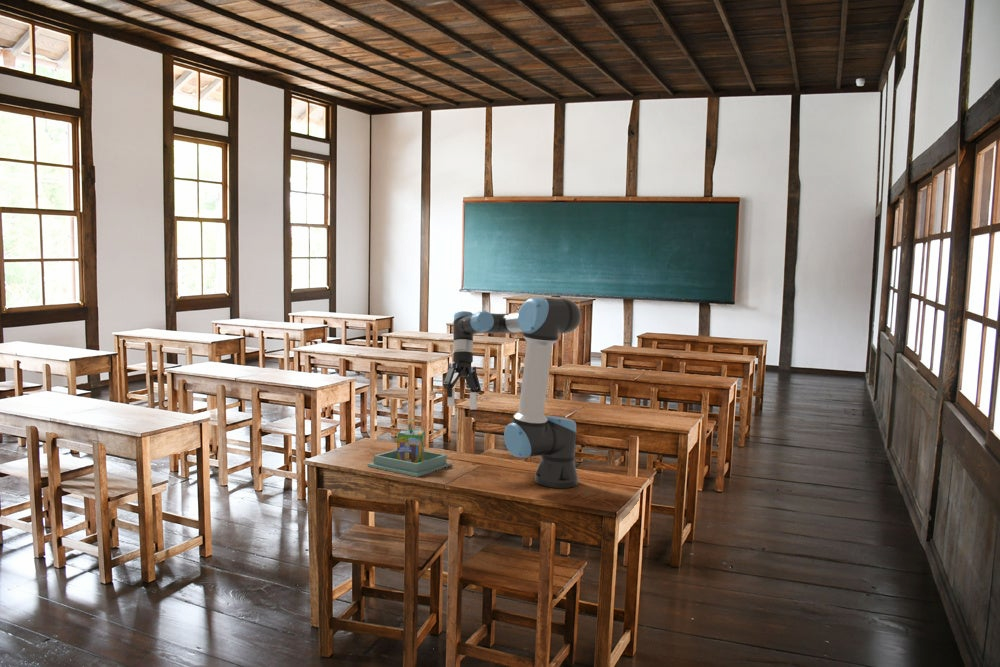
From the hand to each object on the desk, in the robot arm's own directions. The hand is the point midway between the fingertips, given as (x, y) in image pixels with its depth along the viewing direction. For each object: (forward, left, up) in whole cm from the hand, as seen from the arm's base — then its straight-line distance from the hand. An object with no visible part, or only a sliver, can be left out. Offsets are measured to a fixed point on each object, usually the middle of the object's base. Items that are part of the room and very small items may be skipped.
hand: (462, 408), depth 282 cm
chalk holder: (+11, +16, -21) cm, 29 cm away
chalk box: (+11, +16, -20) cm, 28 cm away
